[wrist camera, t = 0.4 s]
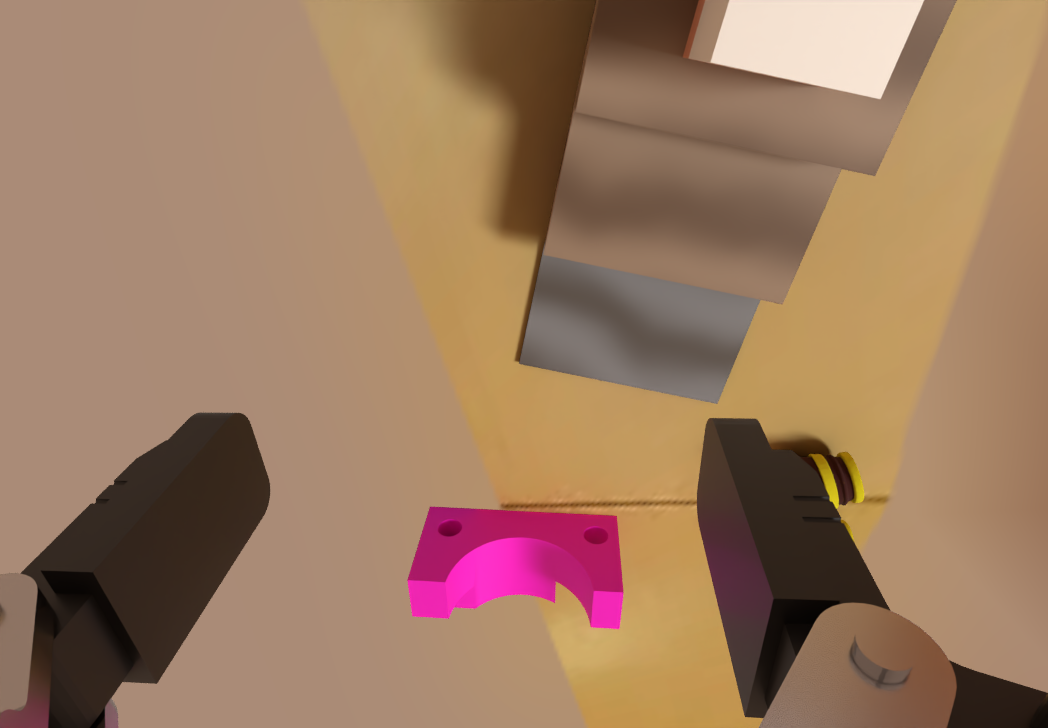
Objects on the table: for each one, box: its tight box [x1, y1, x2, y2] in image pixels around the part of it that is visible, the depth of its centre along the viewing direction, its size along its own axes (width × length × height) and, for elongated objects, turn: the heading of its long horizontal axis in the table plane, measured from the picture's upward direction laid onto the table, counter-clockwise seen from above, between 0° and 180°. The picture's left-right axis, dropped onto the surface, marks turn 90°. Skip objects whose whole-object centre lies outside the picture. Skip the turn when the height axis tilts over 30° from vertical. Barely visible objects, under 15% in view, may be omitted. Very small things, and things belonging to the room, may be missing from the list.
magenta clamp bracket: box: [408, 507, 623, 629], centre depth 46 cm, size 15×6×8 cm, turn 90°
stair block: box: [519, 0, 957, 404], centre depth 32 cm, size 28×14×7 cm, turn 169°
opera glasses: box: [800, 452, 864, 541], centre depth 43 cm, size 10×5×5 cm, turn 7°
